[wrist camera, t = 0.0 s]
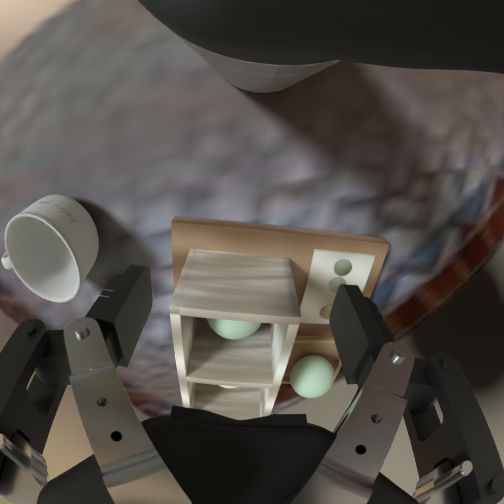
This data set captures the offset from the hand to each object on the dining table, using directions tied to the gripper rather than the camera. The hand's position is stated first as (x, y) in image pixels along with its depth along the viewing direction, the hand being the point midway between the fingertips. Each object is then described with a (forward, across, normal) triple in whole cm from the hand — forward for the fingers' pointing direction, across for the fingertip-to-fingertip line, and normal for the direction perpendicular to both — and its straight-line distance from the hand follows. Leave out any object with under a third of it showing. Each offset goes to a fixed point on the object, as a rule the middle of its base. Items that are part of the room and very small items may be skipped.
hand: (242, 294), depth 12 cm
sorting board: (+18, -4, +16) cm, 24 cm away
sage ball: (+16, -11, +23) cm, 30 cm away
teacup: (+18, +22, +6) cm, 29 cm away
